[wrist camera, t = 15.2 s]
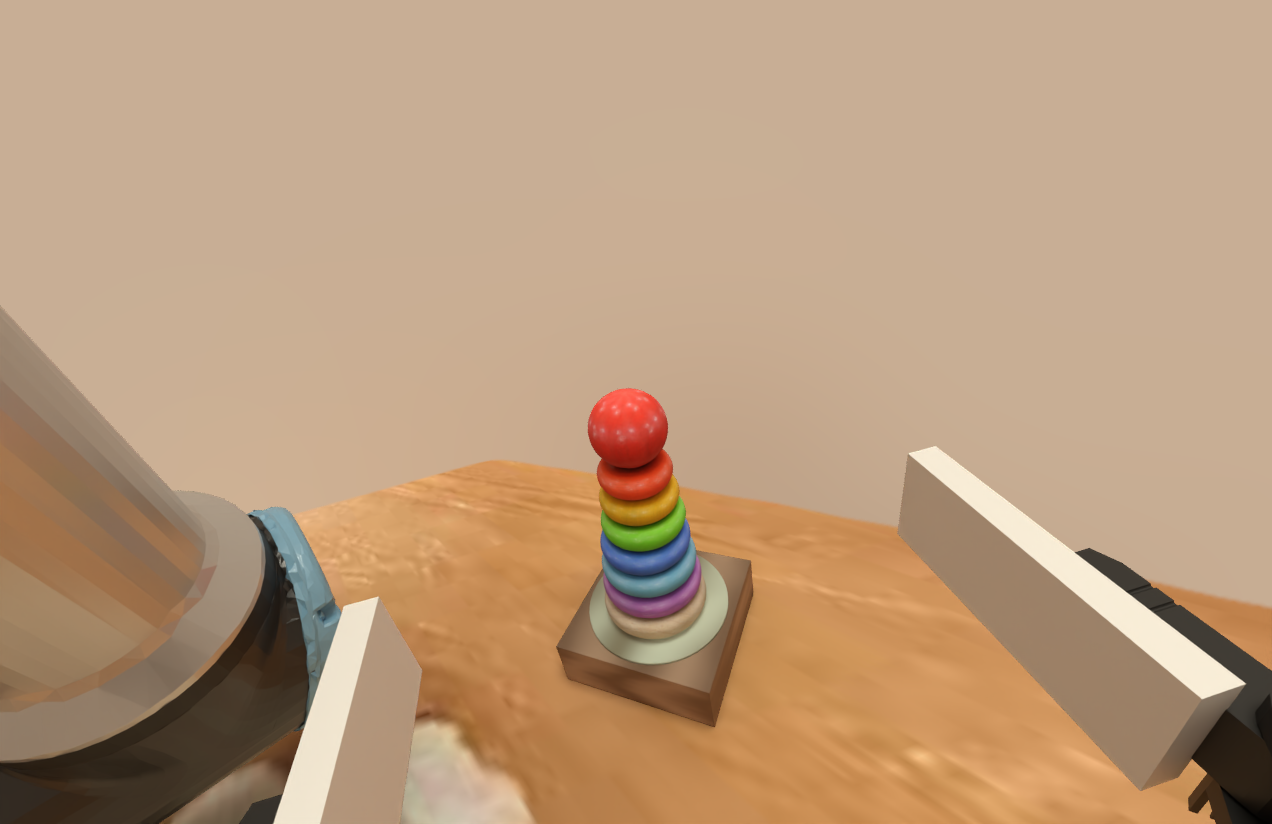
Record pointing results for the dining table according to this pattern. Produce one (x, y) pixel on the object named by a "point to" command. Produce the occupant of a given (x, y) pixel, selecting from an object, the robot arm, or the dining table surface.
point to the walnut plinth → (665, 646)
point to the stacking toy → (643, 520)
